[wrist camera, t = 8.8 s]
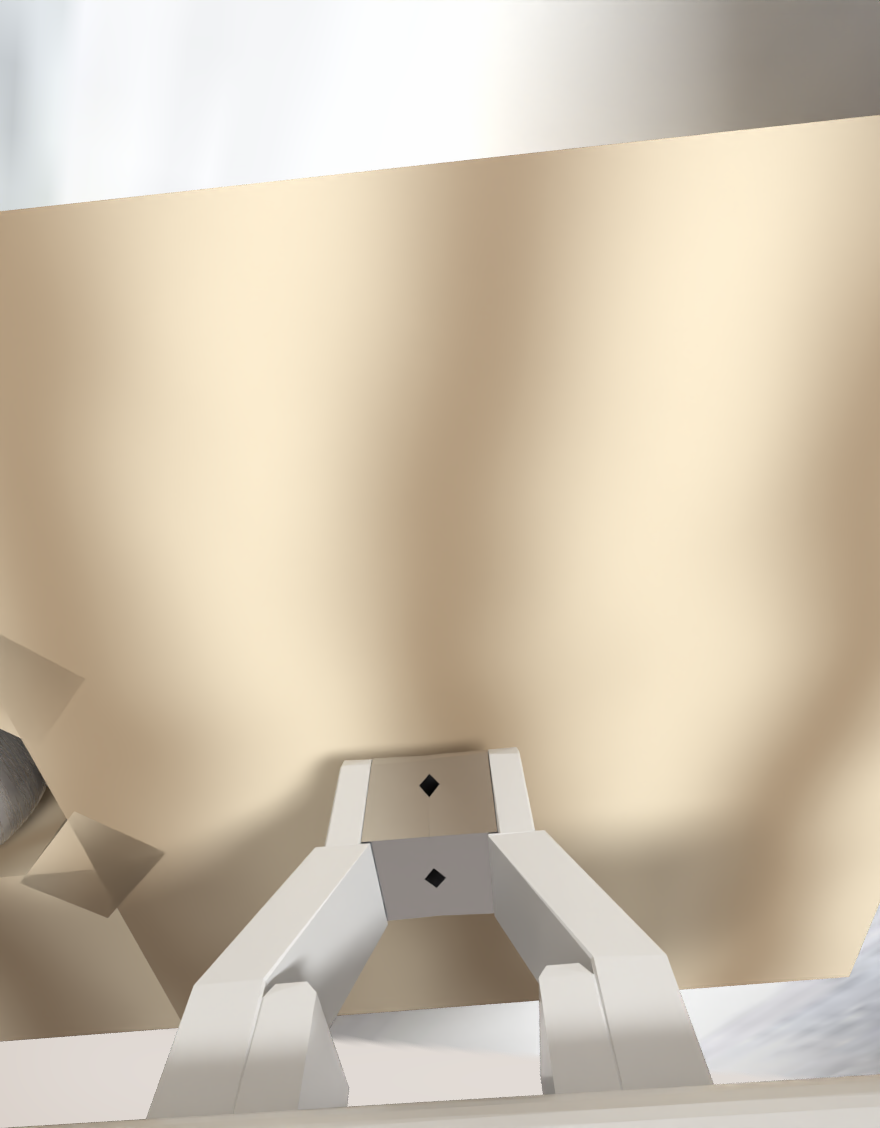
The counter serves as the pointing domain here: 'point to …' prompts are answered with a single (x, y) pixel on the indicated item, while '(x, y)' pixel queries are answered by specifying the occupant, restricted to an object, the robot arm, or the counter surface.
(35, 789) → the ball
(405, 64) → the counter surface
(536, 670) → the beige flat wooden board
